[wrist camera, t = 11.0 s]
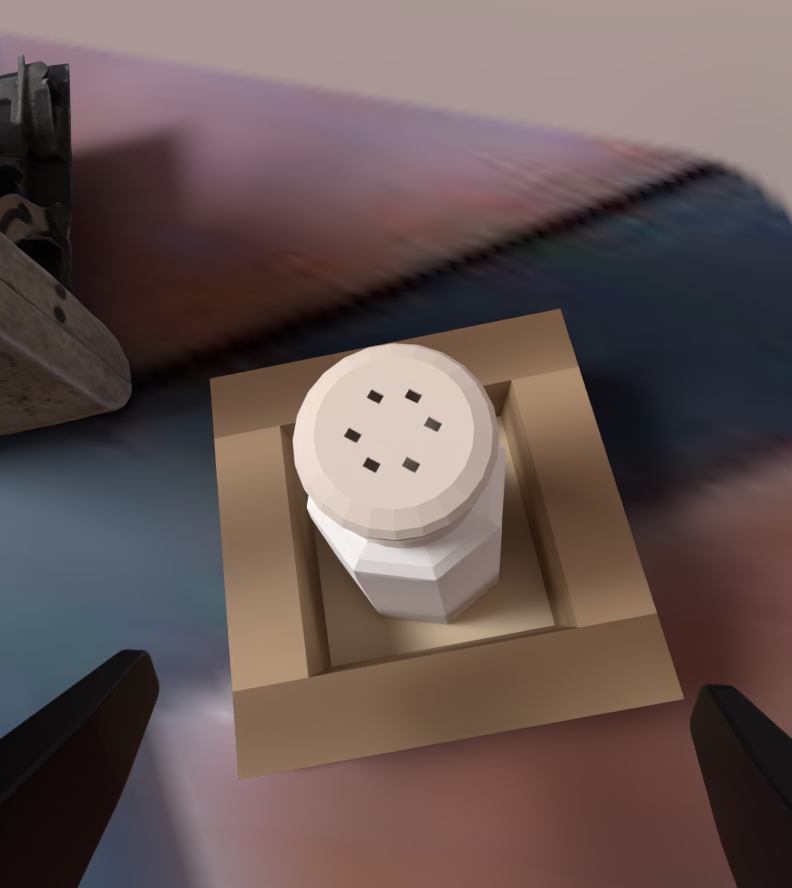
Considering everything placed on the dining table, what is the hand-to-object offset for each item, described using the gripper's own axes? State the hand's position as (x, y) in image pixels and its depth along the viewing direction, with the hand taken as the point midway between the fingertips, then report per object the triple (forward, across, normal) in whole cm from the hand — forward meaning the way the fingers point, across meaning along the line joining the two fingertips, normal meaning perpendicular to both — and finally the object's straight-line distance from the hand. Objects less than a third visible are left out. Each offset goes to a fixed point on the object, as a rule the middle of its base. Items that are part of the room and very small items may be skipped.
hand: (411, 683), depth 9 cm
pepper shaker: (+8, 0, +3) cm, 9 cm away
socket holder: (+9, 0, +4) cm, 10 cm away
